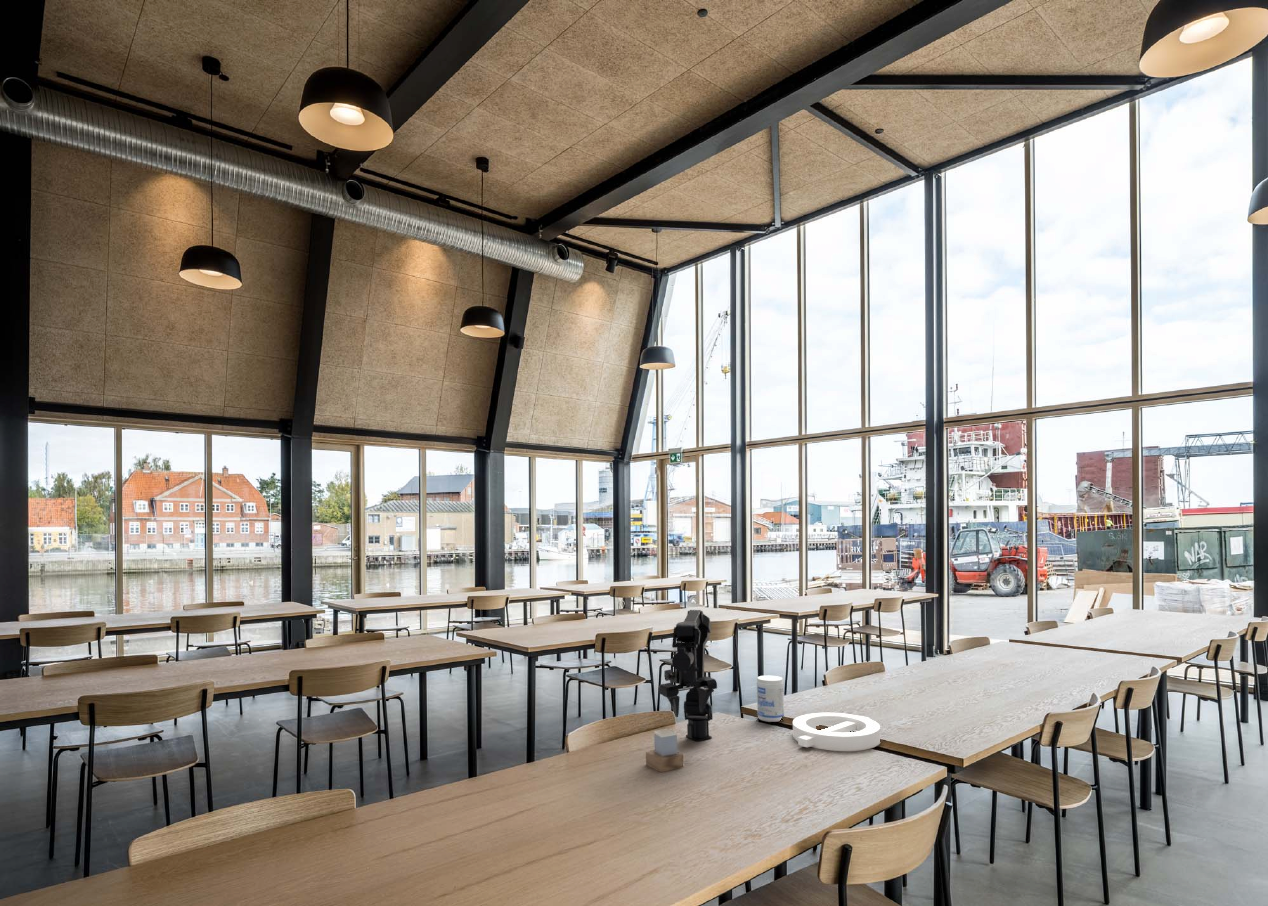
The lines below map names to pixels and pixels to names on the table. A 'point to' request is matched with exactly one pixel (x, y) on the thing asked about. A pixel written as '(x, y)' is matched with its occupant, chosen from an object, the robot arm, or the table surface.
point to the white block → (665, 742)
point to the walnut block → (664, 761)
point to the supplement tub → (770, 698)
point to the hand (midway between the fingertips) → (689, 714)
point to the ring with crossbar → (836, 731)
